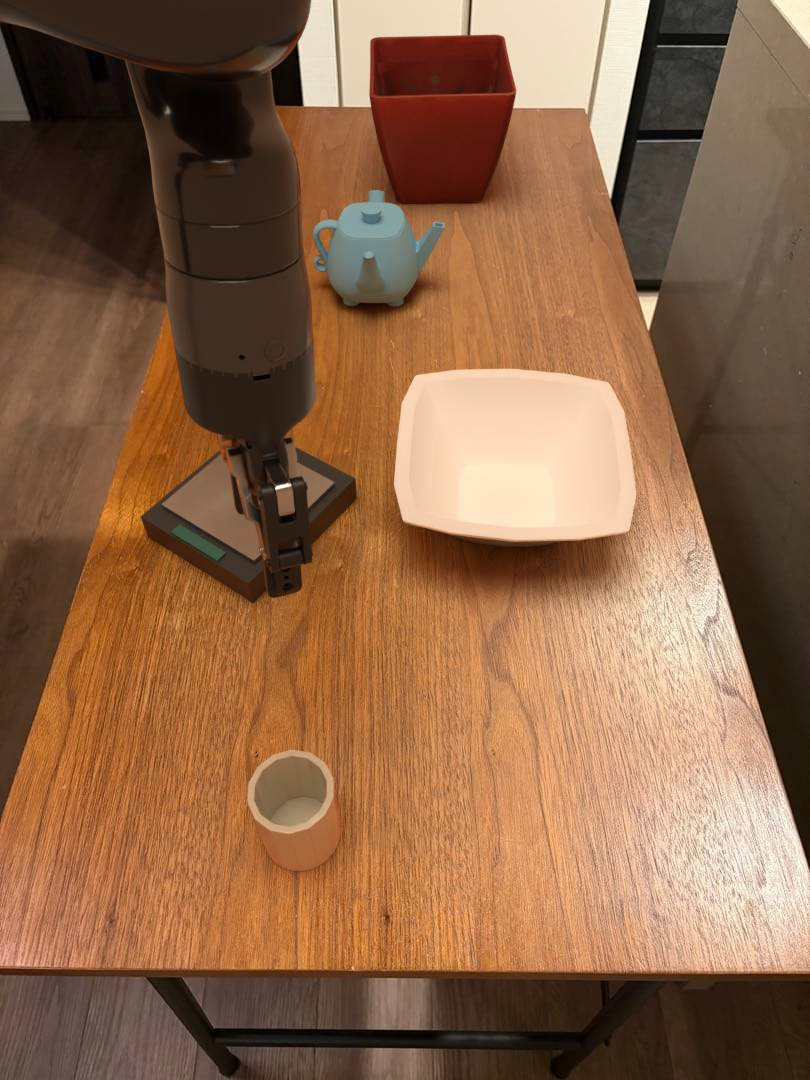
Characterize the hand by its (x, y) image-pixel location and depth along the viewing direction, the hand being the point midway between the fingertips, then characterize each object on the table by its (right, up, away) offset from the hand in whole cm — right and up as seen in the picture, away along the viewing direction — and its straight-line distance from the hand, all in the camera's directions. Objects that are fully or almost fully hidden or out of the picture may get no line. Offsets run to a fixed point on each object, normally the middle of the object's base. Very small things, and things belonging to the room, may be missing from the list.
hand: (267, 548), depth 57 cm
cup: (+1, -22, +8) cm, 24 cm away
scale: (-6, +3, +29) cm, 29 cm away
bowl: (+20, +4, +30) cm, 36 cm away
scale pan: (-6, +5, +26) cm, 28 cm away
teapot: (+6, +33, +54) cm, 63 cm away
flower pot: (+14, +54, +71) cm, 90 cm away
